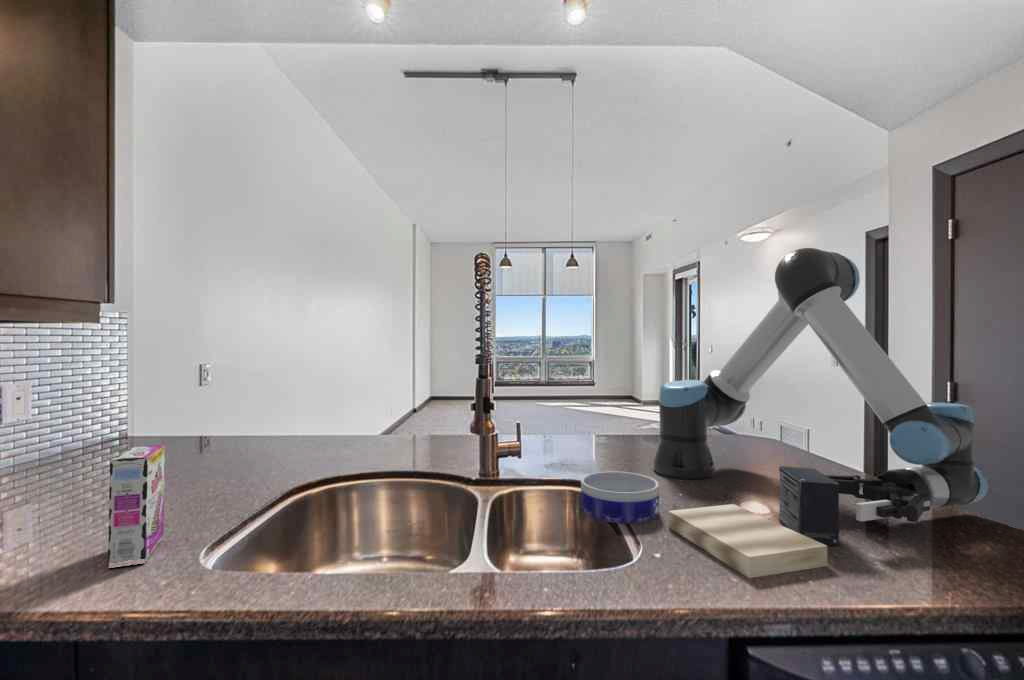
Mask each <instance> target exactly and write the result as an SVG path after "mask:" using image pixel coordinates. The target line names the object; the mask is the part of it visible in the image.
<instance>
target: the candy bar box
mask: <svg viewBox="0 0 1024 680" xmlns="http://www.w3.org/2000/svg"><path fill="white" fill-rule="evenodd" d="M165 456H166V445H145V446H135V447H134V446H132V448H130V449H128V450H126V451H125V452H122V453H121V454H120V455H117V456H116V457H114V458H112V459H110V460H109V487H108V489H109V493H108V494H109V495H108V496H109V498H108V503H109V504H108V539H107V540H108V542H107V544H108V546H107V547H108V548H107V549H108V550H107V564H108V563H118V562H124V561H128V560H137V559H145V558H146V557H147V556H148V554H149V553H150V552H151V551H152V549H153V548H154V546H155V545H156V544H157V542H158V541H159V539H160V538H161V537H162V535H163V536H164V520H165V517H164V516H165V515H164V514H165V513H164V512H165V474H166V473H165V472H166V471H165V468H166V467H165V466H166V463H165V462H166V461H165V460H166V457H165Z"/></svg>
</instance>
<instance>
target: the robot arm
mask: <svg viewBox="0 0 1024 680" xmlns="http://www.w3.org/2000/svg"><path fill="white" fill-rule="evenodd" d="M860 279H861V278H860V271H859V269H858V266H857V265H856V263H854V262H853V261H852V260H851V259H850V258H848V257H846V256H845V255H843V254H841V253H838V252H833V251H826V250H821V249H818V248H813V247H803V248H798V249H795V250H793V251H790V252H789V253H788V254H786V255H785V256H784V257H783V258H781V260H780V261H779V263H778V264H777V266H776V269H775V272H774V282H775V286H776V289H777V296H778V300H777V302H776V303H775V304H774V305H773V306H772V307H771V308H770V310H769V311H768V313H767V314H766V315H765V316H764V317H763V319H762V320H761V321H760V322H759V323H758V324H757V325H756V327H755V328H754V329H753V330H752V332H751V333H750V334H749V336H748V337H747V338H746V339H745V340H744V341H743V343H742V344H741V345H740V346H739V348H737V350H736V351H735V353H734V354H733V355H732V356H731V357H730V358H729V359H728V360H727V362H726V363H725V364H724V365H723V367H722V368H721V369H714V370H712V371H711V372H710V374H709V375H708V376H707V377H706V378H705V379H704V381H703V380H699V379H681V380H672V381H667V382H665V383H664V384H662V385H661V387H660V389H659V397H658V402H659V442H658V446H657V448H656V451H655V455H654V458H653V462H652V466H653V467H652V468H653V469H654V470H653V471H654V472H655V471H656V472H655V473H657V474H660V475H662V476H665V477H671V478H678V479H690V480H692V479H693V480H694V479H695V480H696V479H698V480H700V479H708V478H712V477H714V476H715V473H716V472H715V471H716V470H715V469H716V468H715V462H714V460H713V456H712V454H711V450H710V448H709V445H708V428H712V427H713V428H714V427H719V426H721V427H722V426H727V425H730V424H733V423H735V422H736V421H738V420H739V419H741V417H742V416H743V415H744V414H745V411H746V408H747V405H746V403H747V402H748V401H749V400H750V398H751V394H750V390H751V389H752V387H754V386H755V384H756V383H757V382H758V381H759V379H760V378H762V377H763V375H764V374H765V373H766V372H767V371H768V369H770V368H771V366H772V365H773V364H774V363H775V361H777V359H779V358H780V356H781V355H782V354H783V353H784V352H785V351H786V350H787V348H788V347H789V346H790V345H791V344H792V343H793V342H794V341H795V340H796V339H797V337H798V336H799V335H800V334H801V333H802V331H803V330H805V329H806V327H807V326H808V325H809V326H810V328H811V329H812V330H813V332H814V333H815V335H816V336H817V337H818V338H819V340H820V341H821V342H822V344H823V346H824V347H825V348H826V349H827V350H828V352H829V353H830V355H831V356H832V358H833V359H834V360H835V361H836V363H837V364H838V365H839V367H840V368H841V369H842V371H843V372H844V373H845V375H846V376H847V378H848V379H849V380H850V382H851V383H852V384H853V385H854V387H855V388H856V390H857V391H858V392H859V394H860V395H861V397H863V399H864V400H865V402H866V403H867V404H868V406H869V407H870V408H871V410H872V411H873V413H874V414H875V415H876V416H877V418H878V419H879V421H880V422H881V423H882V424H883V426H884V427H885V429H886V430H887V431H888V432H889V444H890V448H891V449H892V451H893V453H894V454H895V456H897V457H899V458H900V459H901V460H902V461H904V462H906V463H909V464H912V465H918V466H914V467H913V466H912V467H905V468H898V469H897V468H896V469H888V470H886V471H883V472H882V473H880V475H878V477H877V478H867V479H865V478H861V476H860V475H857V474H856V475H835V474H833V475H832V474H830V475H829V474H824V475H825V476H827V477H829V478H830V479H832V480H834V481H835V482H837V483H839V495H840V494H841V495H851V496H854V498H857V499H863V500H870V501H865V502H857V503H855V519H856V521H859V522H866V521H867V522H868V521H873V520H880V519H888V518H892V517H893V518H895V519H897V520H900V519H902V518H906V519H907V522H910V523H916V522H917V521H918V520H919V519H920V518H921V517H922V515H923V514H924V513H925V512H928V511H931V509H936V508H943V507H953V506H957V507H958V506H965V505H968V504H972V503H975V502H978V501H981V500H983V498H984V497H985V496H986V494H987V493H988V490H989V484H988V481H987V479H986V477H985V476H984V474H983V473H982V472H981V471H980V469H978V468H977V467H975V463H974V427H975V422H974V417H973V410H972V408H971V407H970V406H968V405H966V404H961V403H951V402H925V400H924V399H923V398H922V397H921V395H920V394H919V392H917V390H916V389H915V387H913V385H912V384H911V382H909V380H908V378H906V377H905V375H904V374H903V373H902V372H901V370H900V369H899V368H898V367H897V365H896V364H895V363H894V361H893V360H891V358H890V357H889V355H888V354H887V353H886V352H885V351H884V349H883V348H882V347H881V345H879V343H878V342H877V341H876V339H875V338H874V337H873V336H872V335H871V333H870V332H869V331H868V329H867V328H866V327H865V325H864V324H863V323H862V322H861V321H860V319H859V318H858V317H857V316H856V314H855V313H854V311H852V309H851V308H850V307H849V305H847V303H846V302H847V301H848V300H849V299H851V298H852V297H853V296H854V295H855V294H856V292H857V290H858V288H859V286H860V281H861V280H860ZM919 465H920V466H919ZM861 489H862V493H860V490H861Z"/></svg>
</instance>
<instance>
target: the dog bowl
mask: <svg viewBox="0 0 1024 680" xmlns="http://www.w3.org/2000/svg"><path fill="white" fill-rule="evenodd" d="M580 494H581V495H580V496H581V509H582V512H583V513H584V514H585V515H587V516H588V517H590V518H592V519H595V520H598V521H601V522H606V523H610V524H611V523H613V524H614V523H615V524H622V525H623V524H625V525H626V524H627V525H630V524H642V523H647V521H648V522H650V521H653V520H655V519H657V517H658V516H659V512H660V511H659V510H660V509H659V508H660V506H659V505H660V484H659V482H658V481H657V480H656V479H654V478H653V477H650V476H647V475H644V474H639V473H637V472H636V473H635V472H630V471H629V472H628V471H618V470H617V471H615V470H613V471H601V472H600V471H598V472H593V473H589V474H587V475H585V476H583V477H582V478H581V479H580Z"/></svg>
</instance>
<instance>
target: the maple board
mask: <svg viewBox="0 0 1024 680" xmlns="http://www.w3.org/2000/svg"><path fill="white" fill-rule="evenodd" d="M667 520H668V521H667V522H668V523H667V524H668V527H669V528H668V529H670V530H672V531H673V532H675V533H676V532H677V533H676V534H678V533H679V534H678V535H680V536H681V535H682V536H681V537H683V538H684V537H685V539H686V538H687V539H686V540H688V541H689V540H690V541H689V542H691V543H692V542H693V543H692V544H693V545H695V544H696V546H697V545H698V546H697V547H699V548H700V547H701V548H700V549H702V548H703V549H704V550H703V549H702V550H703V551H705V550H706V551H705V552H706V553H708V552H709V554H710V555H712V556H713V557H715V558H716V559H718V560H719V561H721V562H722V563H724V564H726V565H727V566H729V567H731V568H732V569H734V570H736V571H737V572H739V573H740V574H742V575H743V576H744V577H746V578H748V579H753V578H760V577H767V576H773V575H778V574H786V573H792V572H798V571H805V570H810V569H817V568H823V567H824V568H825V567H828V545H825V544H822V543H820V542H818V541H815V540H813V539H811V538H809V537H806V536H804V535H802V534H800V533H797V532H795V531H793V530H791V529H788V528H786V527H784V526H783V525H782V524H779V523H777V522H774V521H773V520H770V519H768V518H765V516H764V517H763V516H761V515H759V514H757V513H754V512H752V511H750V510H748V509H746V508H744V507H741V506H739V505H737V504H735V503H729V504H720V505H712V506H701V507H693V508H684V509H674V510H668V519H667Z"/></svg>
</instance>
